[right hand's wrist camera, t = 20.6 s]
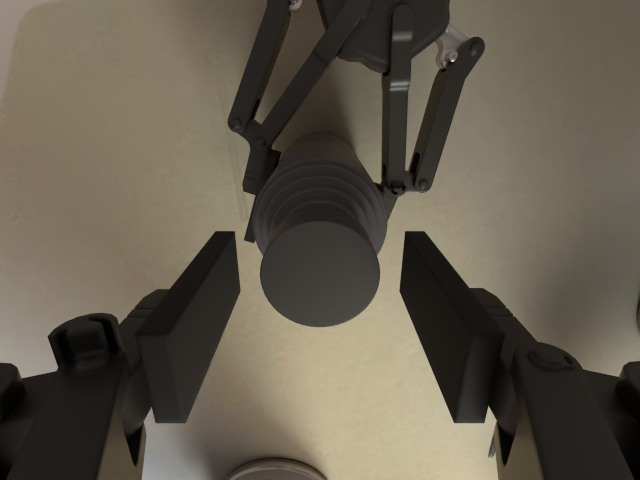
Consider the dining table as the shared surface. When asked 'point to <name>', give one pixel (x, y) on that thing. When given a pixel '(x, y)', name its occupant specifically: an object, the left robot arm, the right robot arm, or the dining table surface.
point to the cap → (320, 268)
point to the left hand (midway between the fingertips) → (300, 248)
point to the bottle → (320, 188)
